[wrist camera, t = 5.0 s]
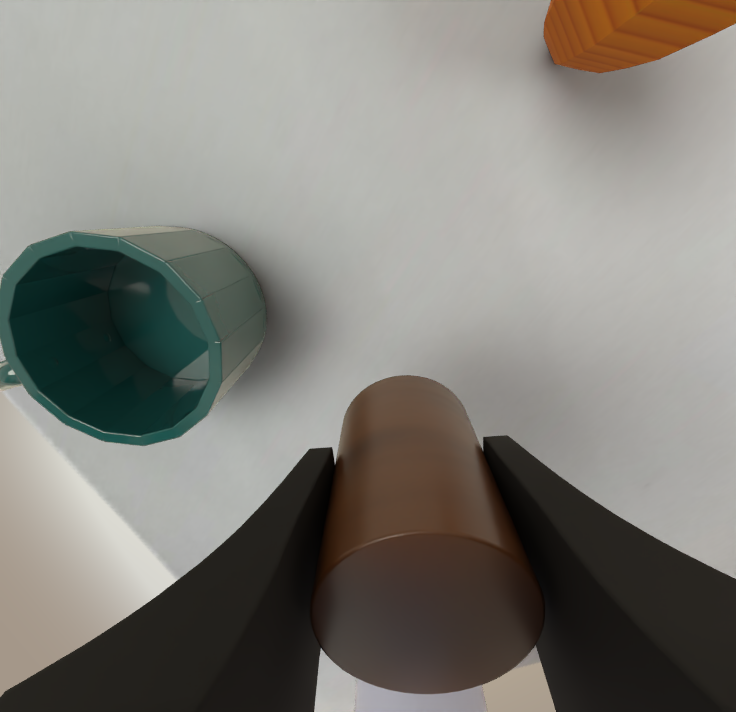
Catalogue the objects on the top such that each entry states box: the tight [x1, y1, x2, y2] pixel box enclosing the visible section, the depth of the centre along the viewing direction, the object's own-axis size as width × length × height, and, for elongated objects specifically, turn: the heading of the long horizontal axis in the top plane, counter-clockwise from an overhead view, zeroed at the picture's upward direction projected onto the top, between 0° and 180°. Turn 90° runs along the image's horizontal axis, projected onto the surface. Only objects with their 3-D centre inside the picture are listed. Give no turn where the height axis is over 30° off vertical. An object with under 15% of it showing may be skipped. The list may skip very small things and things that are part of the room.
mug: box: [0, 226, 267, 446], centre depth 17 cm, size 11×8×6 cm
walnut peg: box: [310, 375, 545, 694], centre depth 9 cm, size 4×4×6 cm
